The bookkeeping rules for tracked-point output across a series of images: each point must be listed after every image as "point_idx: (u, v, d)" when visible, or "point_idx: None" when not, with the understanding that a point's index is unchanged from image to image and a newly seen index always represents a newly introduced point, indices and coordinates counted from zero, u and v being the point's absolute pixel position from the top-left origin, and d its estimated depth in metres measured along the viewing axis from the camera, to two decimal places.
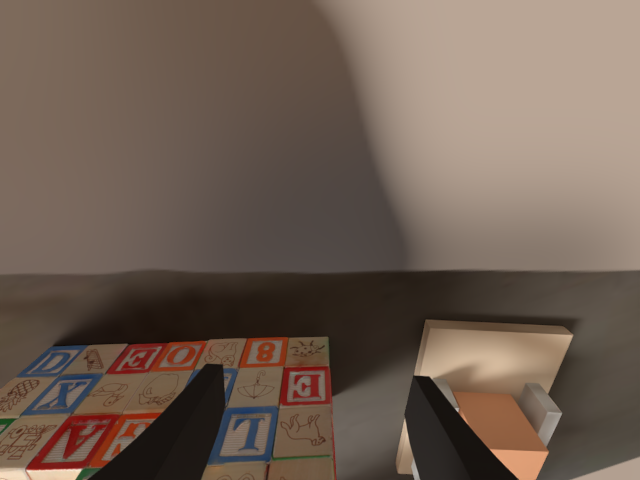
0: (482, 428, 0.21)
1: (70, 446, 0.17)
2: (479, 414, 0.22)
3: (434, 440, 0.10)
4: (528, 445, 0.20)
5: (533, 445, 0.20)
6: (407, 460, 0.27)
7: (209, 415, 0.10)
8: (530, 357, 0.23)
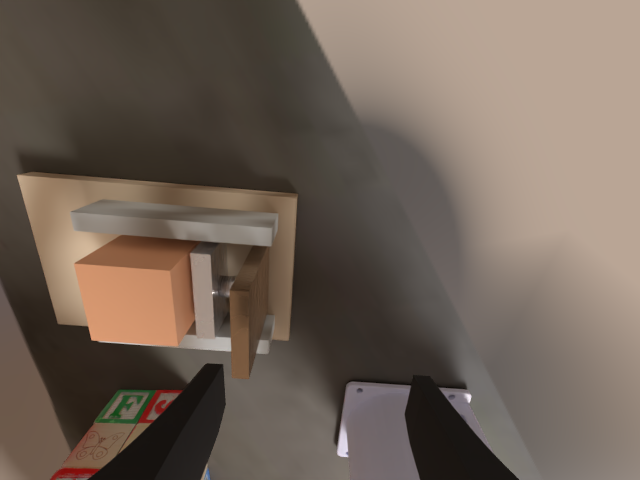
0: None
1: None
2: None
3: (434, 440, 0.10)
4: None
5: None
6: None
7: (209, 415, 0.10)
8: (64, 218, 0.18)
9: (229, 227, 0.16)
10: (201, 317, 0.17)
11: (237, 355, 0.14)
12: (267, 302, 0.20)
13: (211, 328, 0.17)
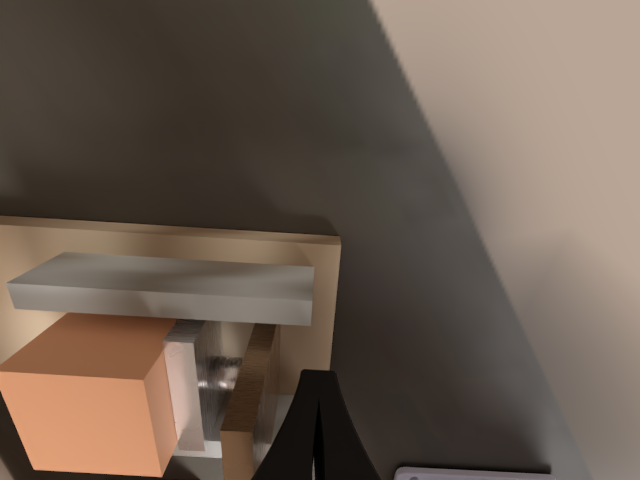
0: None
1: None
2: None
3: (319, 434, 0.10)
4: None
5: None
6: None
7: (316, 421, 0.10)
8: (13, 278, 0.13)
9: (248, 300, 0.10)
10: (184, 424, 0.12)
11: None
12: (278, 383, 0.14)
13: (199, 438, 0.12)
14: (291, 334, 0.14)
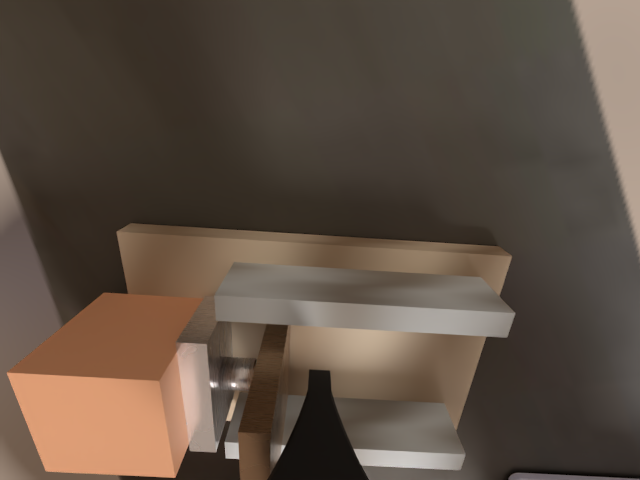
0: None
1: None
2: None
3: None
4: None
5: None
6: None
7: None
8: (177, 287, 0.13)
9: (452, 312, 0.11)
10: (195, 425, 0.12)
11: None
12: (288, 384, 0.14)
13: (210, 439, 0.12)
14: (443, 343, 0.14)
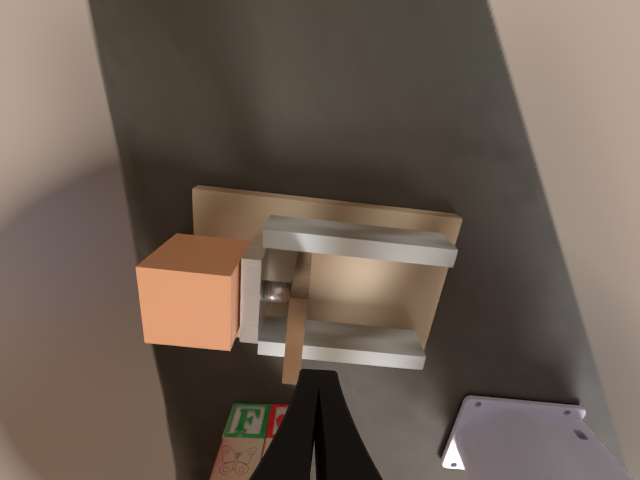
0: None
1: None
2: None
3: (320, 434, 0.10)
4: None
5: None
6: None
7: (315, 421, 0.10)
8: (229, 231, 0.19)
9: (417, 248, 0.16)
10: (246, 321, 0.17)
11: (289, 361, 0.15)
12: None
13: (255, 332, 0.17)
14: (414, 282, 0.20)
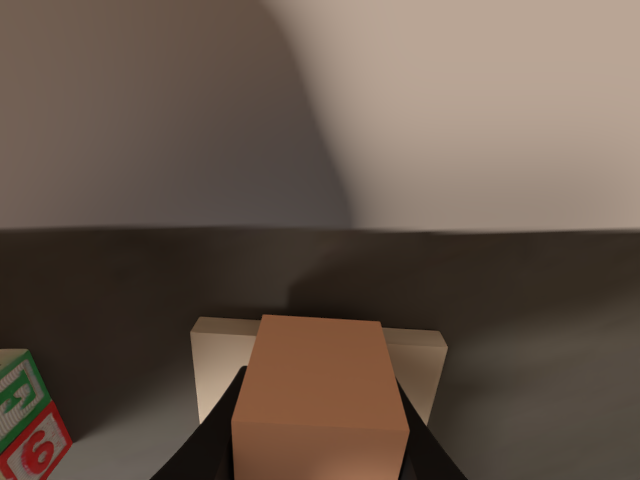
0: (274, 377, 0.09)
1: None
2: (287, 351, 0.10)
3: None
4: (364, 415, 0.08)
5: (377, 415, 0.08)
6: None
7: None
8: None
9: None
10: None
11: None
12: None
13: None
14: None
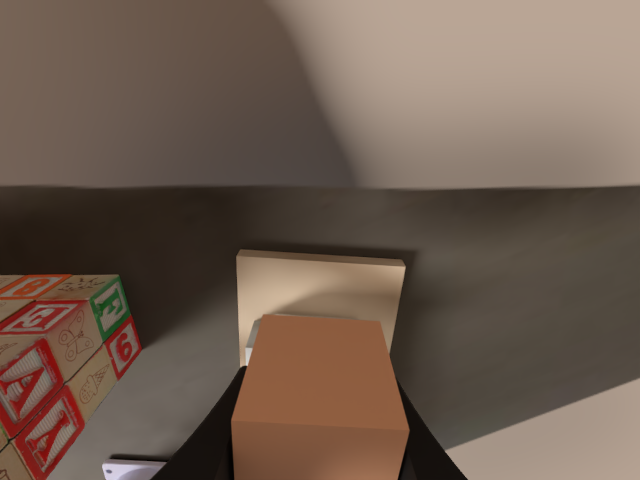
0: (274, 377, 0.09)
1: None
2: (287, 351, 0.10)
3: None
4: (364, 414, 0.08)
5: (377, 415, 0.08)
6: None
7: None
8: (362, 295, 0.19)
9: None
10: None
11: None
12: None
13: None
14: None
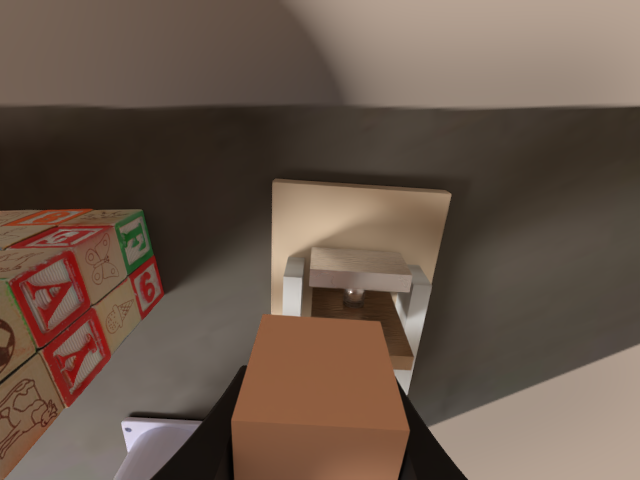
0: (274, 377, 0.09)
1: None
2: (287, 351, 0.10)
3: None
4: (364, 415, 0.08)
5: (377, 415, 0.08)
6: None
7: None
8: (403, 226, 0.18)
9: None
10: (337, 276, 0.16)
11: None
12: None
13: (323, 284, 0.16)
14: None
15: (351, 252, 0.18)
